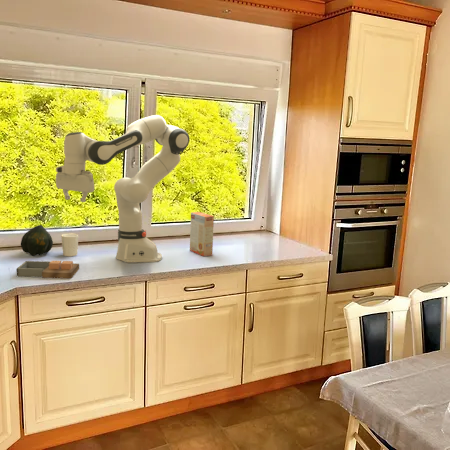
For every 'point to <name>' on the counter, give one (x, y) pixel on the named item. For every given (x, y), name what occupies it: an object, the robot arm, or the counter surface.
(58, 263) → the tile
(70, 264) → the tile
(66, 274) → the wooden board
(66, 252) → the white cup
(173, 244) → the counter surface
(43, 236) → the squash
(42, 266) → the tray
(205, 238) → the cracker box
